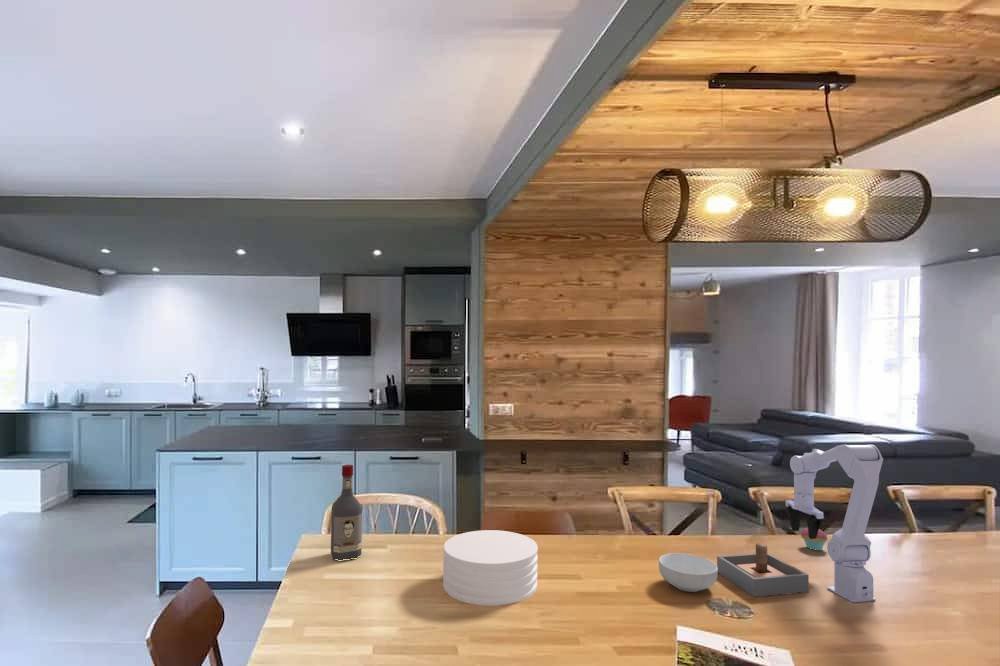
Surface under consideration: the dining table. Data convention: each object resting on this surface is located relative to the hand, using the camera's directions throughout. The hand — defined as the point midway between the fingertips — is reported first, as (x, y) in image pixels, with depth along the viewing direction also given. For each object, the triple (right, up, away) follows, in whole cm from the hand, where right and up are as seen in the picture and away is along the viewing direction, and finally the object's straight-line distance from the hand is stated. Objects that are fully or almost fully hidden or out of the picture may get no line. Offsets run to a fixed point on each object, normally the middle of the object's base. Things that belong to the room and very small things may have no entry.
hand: (803, 534), depth 182 cm
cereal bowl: (-44, -10, -17) cm, 48 cm away
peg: (-20, -9, -13) cm, 25 cm away
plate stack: (-103, -9, -16) cm, 104 cm away
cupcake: (+13, -11, +17) cm, 24 cm away
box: (-20, -10, -13) cm, 26 cm away
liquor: (-151, -9, +4) cm, 151 cm away
